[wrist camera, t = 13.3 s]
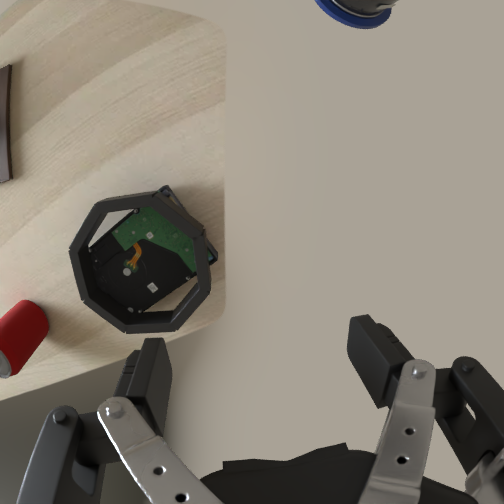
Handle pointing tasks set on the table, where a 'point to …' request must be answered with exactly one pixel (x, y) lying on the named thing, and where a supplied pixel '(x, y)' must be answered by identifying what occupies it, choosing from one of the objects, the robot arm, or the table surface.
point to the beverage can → (20, 336)
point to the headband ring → (108, 305)
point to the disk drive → (144, 258)
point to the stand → (5, 124)
